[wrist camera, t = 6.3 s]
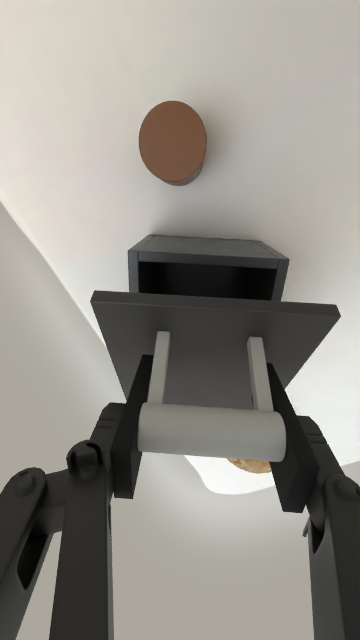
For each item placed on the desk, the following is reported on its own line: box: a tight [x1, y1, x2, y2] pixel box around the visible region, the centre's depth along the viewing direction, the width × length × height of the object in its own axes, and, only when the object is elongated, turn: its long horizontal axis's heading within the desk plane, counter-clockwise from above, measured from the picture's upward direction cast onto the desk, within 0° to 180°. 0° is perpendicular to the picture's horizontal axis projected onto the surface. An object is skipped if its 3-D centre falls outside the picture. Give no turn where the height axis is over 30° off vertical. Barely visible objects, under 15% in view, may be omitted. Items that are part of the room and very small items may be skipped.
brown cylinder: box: [139, 101, 207, 186], centre depth 23 cm, size 5×5×7 cm
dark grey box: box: [128, 235, 290, 301], centre depth 28 cm, size 16×12×10 cm
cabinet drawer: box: [90, 290, 341, 462], centre depth 18 cm, size 16×12×7 cm
